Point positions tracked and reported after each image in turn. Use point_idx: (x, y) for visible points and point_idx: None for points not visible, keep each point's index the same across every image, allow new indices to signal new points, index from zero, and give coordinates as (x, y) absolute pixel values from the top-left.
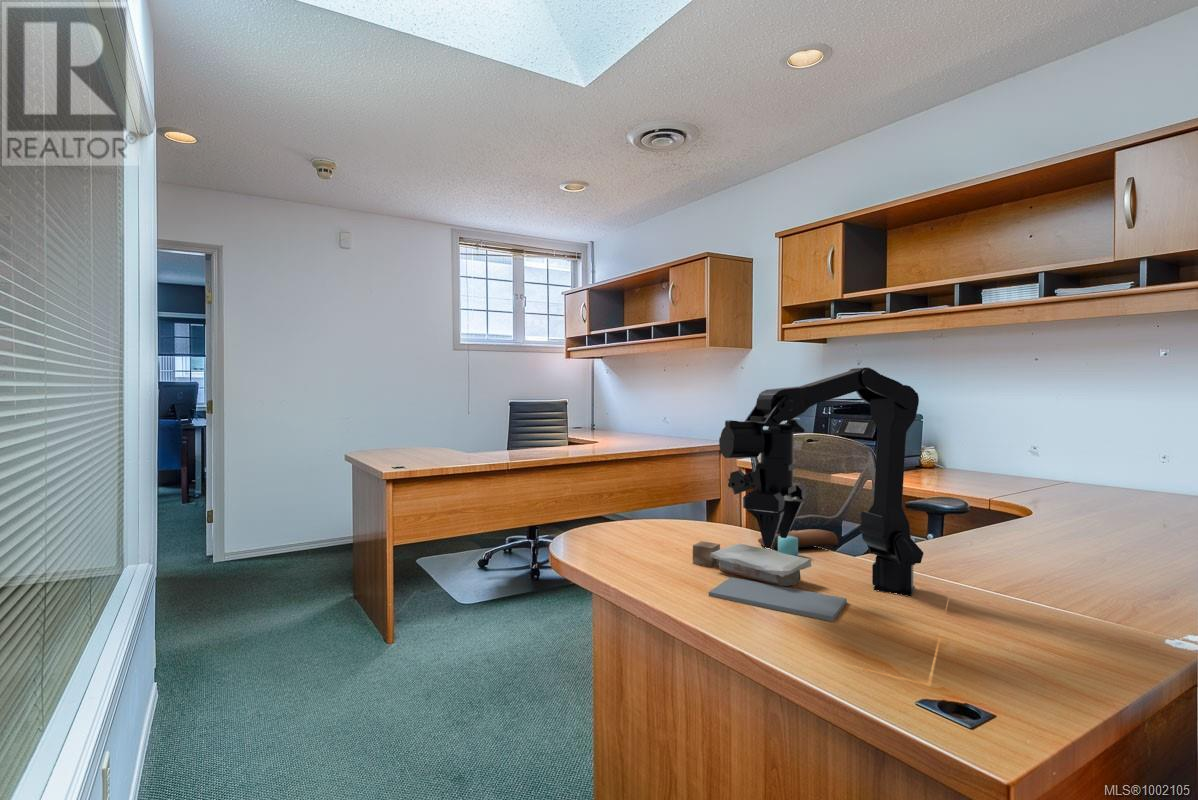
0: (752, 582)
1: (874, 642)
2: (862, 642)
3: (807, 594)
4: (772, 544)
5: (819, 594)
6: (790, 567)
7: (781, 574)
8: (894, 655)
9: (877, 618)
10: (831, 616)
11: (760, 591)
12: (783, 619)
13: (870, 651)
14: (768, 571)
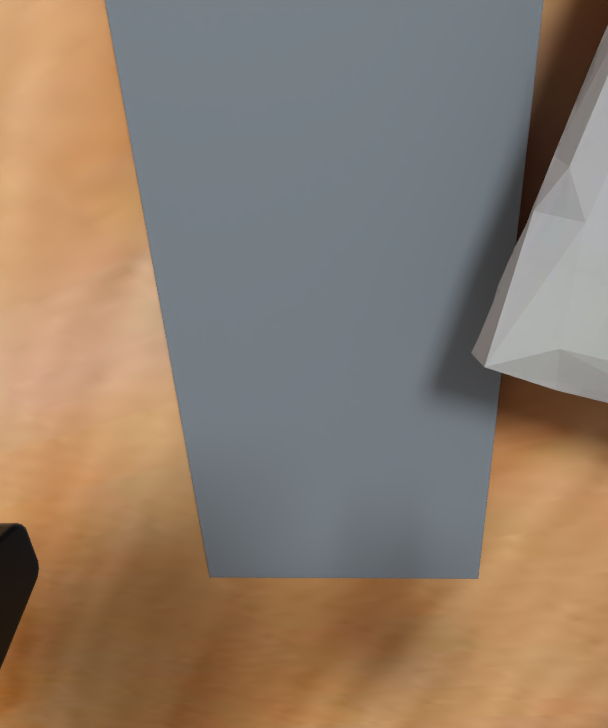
0: (499, 100)
1: (133, 668)
2: (106, 647)
3: (438, 444)
4: (21, 613)
5: (470, 486)
6: (600, 386)
7: (479, 346)
8: (84, 706)
9: (353, 655)
10: (209, 573)
11: (336, 227)
12: (98, 423)
13: (60, 667)
14: (521, 239)
